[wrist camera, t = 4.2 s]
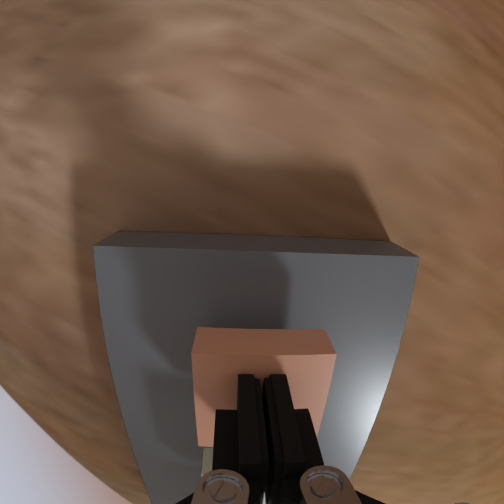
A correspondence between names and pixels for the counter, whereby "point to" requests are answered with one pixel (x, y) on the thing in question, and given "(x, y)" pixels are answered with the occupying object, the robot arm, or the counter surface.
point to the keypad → (244, 317)
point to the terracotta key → (258, 369)
